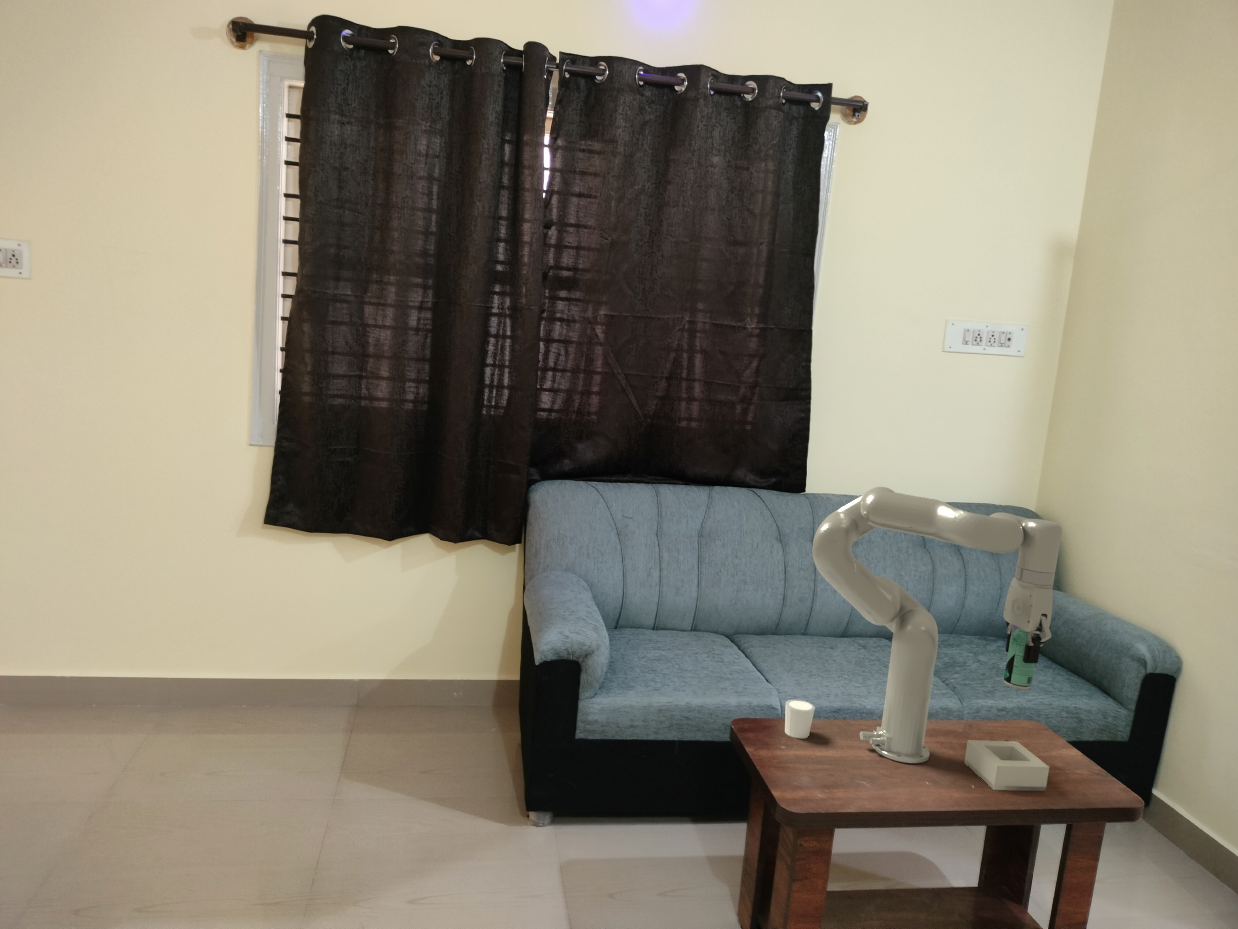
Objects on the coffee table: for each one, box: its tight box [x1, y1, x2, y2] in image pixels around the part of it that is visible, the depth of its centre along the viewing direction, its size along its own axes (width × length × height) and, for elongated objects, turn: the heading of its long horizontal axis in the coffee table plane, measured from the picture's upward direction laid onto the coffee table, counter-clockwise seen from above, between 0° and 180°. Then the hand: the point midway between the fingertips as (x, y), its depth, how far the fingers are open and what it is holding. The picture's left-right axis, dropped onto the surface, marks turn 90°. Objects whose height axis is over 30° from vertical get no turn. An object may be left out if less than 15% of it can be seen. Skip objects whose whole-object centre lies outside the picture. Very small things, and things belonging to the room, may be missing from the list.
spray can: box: [1003, 625, 1038, 691], centre depth 186 cm, size 6×6×20 cm
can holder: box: [963, 739, 1050, 792], centre depth 189 cm, size 12×12×6 cm
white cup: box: [784, 699, 816, 739], centre depth 202 cm, size 7×7×7 cm
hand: (1021, 656), depth 187 cm, fingers closed on spray can, 5 cm apart
